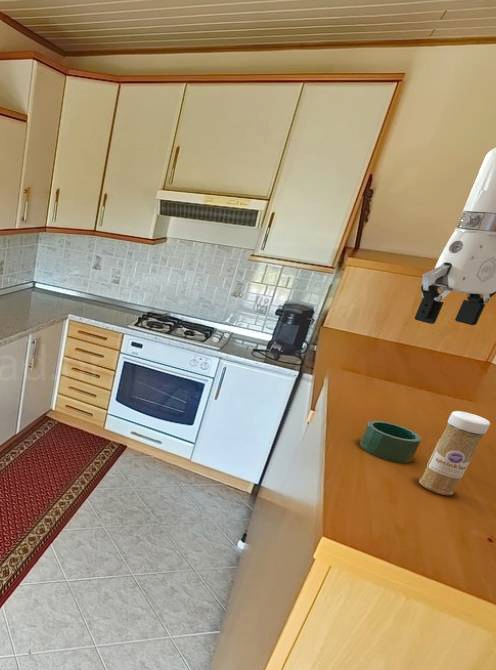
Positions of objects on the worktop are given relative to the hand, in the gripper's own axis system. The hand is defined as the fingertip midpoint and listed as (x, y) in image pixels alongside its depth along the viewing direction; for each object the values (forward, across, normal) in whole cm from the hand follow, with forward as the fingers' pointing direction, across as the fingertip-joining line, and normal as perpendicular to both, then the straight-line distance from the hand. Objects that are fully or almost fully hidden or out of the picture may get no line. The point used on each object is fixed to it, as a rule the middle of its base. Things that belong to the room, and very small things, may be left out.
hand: (444, 322), depth 89 cm
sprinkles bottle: (+25, -10, -15) cm, 31 cm away
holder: (+25, -6, -4) cm, 26 cm away
